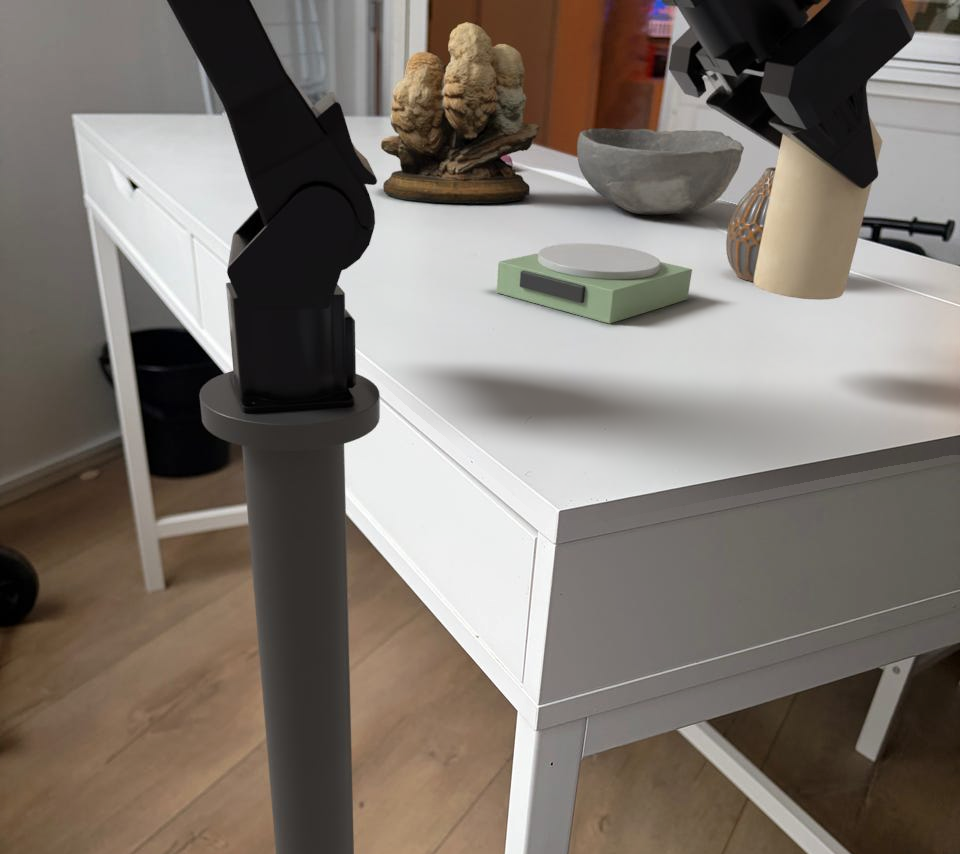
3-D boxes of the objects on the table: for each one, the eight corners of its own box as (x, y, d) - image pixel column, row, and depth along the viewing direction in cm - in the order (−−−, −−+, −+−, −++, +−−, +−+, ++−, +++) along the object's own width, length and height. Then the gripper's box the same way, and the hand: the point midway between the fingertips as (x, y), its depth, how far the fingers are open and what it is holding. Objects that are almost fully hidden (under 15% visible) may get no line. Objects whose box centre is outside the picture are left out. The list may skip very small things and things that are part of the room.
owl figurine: (519, 186, 122) (530, 23, 113) (549, 205, 113) (564, 28, 104) (374, 185, 118) (373, 15, 109) (392, 204, 109) (393, 19, 99)
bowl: (545, 212, 109) (552, 131, 105) (605, 192, 122) (613, 119, 118) (704, 236, 103) (718, 150, 98) (749, 212, 116) (763, 135, 112)
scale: (607, 324, 74) (612, 282, 72) (493, 293, 79) (496, 253, 78) (687, 299, 81) (693, 261, 79) (578, 272, 87) (582, 236, 85)
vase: (815, 283, 88) (840, 174, 83) (761, 290, 85) (784, 178, 80) (756, 265, 93) (777, 161, 88) (703, 272, 89) (721, 164, 84)
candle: (772, 299, 59) (813, 109, 54) (739, 276, 64) (774, 99, 58) (859, 302, 60) (908, 115, 54) (820, 279, 64) (862, 104, 59)
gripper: (940, -242, 41) (1073, 83, 49) (758, -183, 56) (882, 56, 64) (720, -25, 44) (880, 248, 52) (604, -25, 59) (742, 185, 67)
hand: (845, 174), depth 58 cm, fingers closed on candle, 5 cm apart
